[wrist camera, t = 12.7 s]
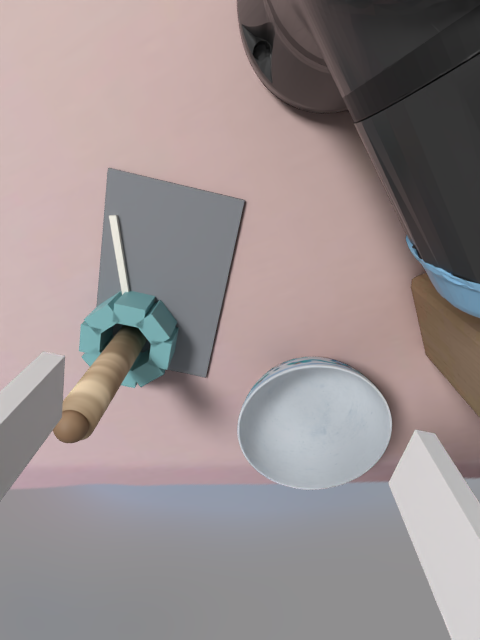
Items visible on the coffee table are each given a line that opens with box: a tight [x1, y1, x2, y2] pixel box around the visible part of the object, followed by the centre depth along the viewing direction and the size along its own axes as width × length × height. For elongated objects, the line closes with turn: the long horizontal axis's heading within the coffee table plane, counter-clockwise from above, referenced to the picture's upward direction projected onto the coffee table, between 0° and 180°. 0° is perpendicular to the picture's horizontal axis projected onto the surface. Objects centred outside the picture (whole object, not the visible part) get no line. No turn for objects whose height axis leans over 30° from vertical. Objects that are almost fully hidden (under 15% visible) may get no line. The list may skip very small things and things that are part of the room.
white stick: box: [109, 215, 130, 295], centre depth 39 cm, size 8×1×1 cm, turn 2°
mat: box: [97, 168, 245, 378], centre depth 40 cm, size 20×13×1 cm, turn 167°
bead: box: [79, 291, 179, 388], centre depth 41 cm, size 9×9×4 cm
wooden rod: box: [53, 325, 147, 443], centre depth 34 cm, size 3×3×17 cm
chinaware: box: [237, 357, 392, 490], centre depth 41 cm, size 15×15×8 cm
